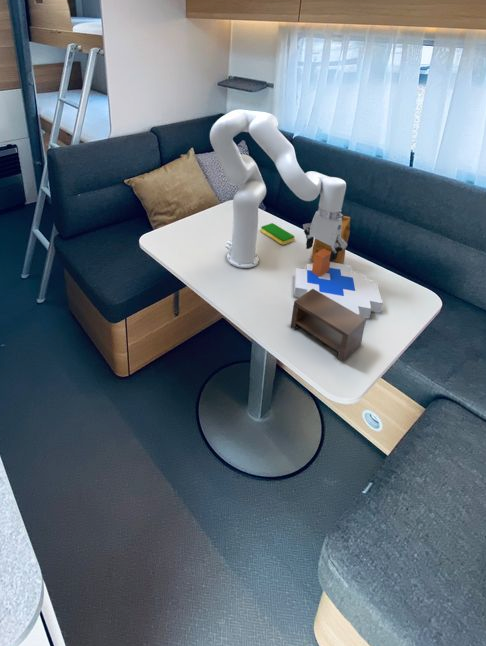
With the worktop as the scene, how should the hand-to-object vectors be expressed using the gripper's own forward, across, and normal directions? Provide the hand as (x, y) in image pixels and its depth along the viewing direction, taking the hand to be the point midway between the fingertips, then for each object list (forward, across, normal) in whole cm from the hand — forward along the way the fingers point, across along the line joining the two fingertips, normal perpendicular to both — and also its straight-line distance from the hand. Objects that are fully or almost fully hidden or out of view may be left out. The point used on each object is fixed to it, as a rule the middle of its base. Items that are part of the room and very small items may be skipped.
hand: (320, 253), depth 148 cm
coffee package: (+12, +4, -14) cm, 19 cm away
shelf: (+11, -18, +23) cm, 31 cm away
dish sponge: (+12, +29, -14) cm, 35 cm away
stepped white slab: (+11, -9, +2) cm, 15 cm away
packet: (+7, -1, 0) cm, 7 cm away
